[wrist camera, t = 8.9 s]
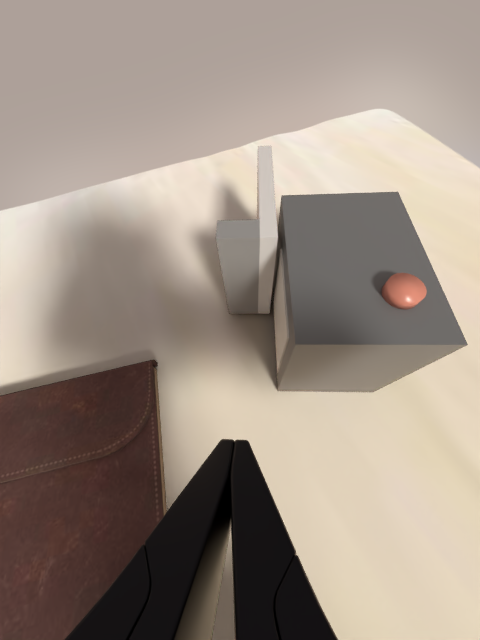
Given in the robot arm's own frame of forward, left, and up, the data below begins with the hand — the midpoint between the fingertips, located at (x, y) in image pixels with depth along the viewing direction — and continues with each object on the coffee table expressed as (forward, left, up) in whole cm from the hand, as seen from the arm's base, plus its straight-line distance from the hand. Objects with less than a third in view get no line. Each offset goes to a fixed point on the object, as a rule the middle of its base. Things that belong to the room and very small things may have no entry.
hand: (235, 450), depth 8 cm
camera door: (+10, +12, -10) cm, 18 cm away
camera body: (+10, +3, -10) cm, 15 cm away
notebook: (-14, +7, -11) cm, 19 cm away
